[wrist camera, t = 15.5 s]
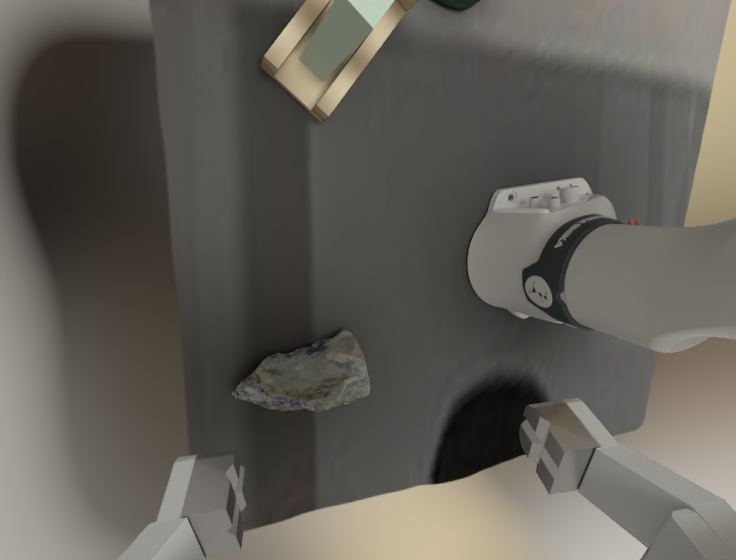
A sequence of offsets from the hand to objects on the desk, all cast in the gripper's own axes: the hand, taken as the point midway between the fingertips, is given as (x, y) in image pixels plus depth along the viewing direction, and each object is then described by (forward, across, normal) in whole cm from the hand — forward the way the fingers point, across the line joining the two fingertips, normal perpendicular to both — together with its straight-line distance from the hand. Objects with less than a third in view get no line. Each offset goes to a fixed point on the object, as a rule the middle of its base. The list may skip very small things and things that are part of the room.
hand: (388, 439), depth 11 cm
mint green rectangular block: (+38, -2, -10) cm, 40 cm away
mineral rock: (+29, +5, +21) cm, 36 cm away
